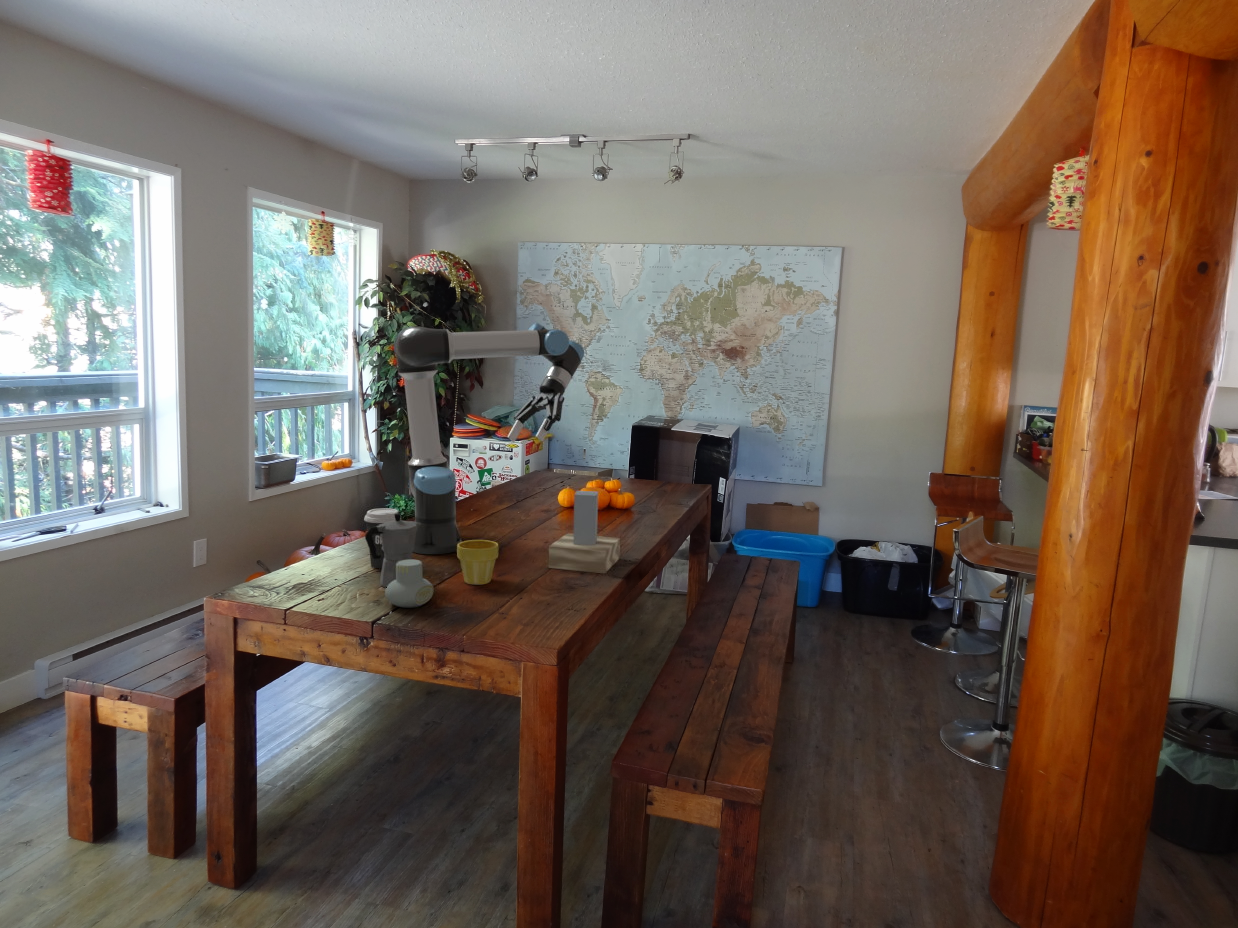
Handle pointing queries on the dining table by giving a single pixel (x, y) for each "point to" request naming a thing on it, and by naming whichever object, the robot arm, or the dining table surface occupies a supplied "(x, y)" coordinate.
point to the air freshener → (409, 585)
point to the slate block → (585, 517)
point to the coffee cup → (375, 519)
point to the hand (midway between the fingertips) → (524, 439)
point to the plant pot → (477, 560)
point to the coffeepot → (393, 545)
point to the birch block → (584, 554)
